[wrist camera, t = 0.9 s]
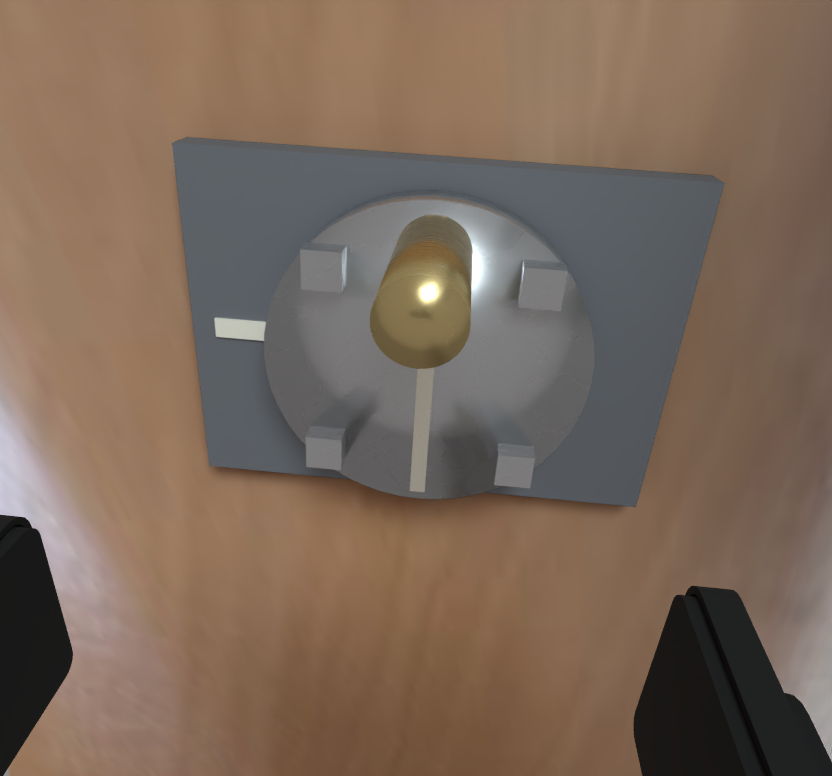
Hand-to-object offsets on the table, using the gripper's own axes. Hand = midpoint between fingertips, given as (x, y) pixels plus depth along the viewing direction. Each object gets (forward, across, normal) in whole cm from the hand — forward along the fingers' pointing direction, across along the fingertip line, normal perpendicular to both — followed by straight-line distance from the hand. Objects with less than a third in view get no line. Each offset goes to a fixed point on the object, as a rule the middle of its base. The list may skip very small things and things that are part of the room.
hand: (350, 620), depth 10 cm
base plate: (+22, 0, +5) cm, 23 cm away
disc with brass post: (+20, 0, +5) cm, 21 cm away
